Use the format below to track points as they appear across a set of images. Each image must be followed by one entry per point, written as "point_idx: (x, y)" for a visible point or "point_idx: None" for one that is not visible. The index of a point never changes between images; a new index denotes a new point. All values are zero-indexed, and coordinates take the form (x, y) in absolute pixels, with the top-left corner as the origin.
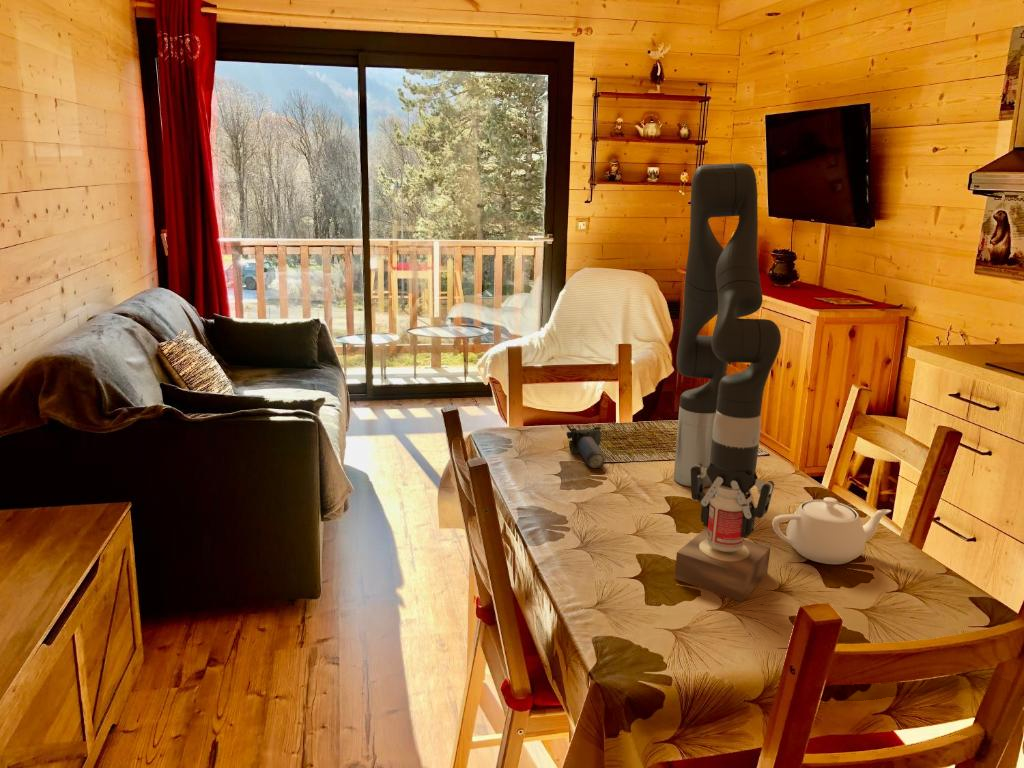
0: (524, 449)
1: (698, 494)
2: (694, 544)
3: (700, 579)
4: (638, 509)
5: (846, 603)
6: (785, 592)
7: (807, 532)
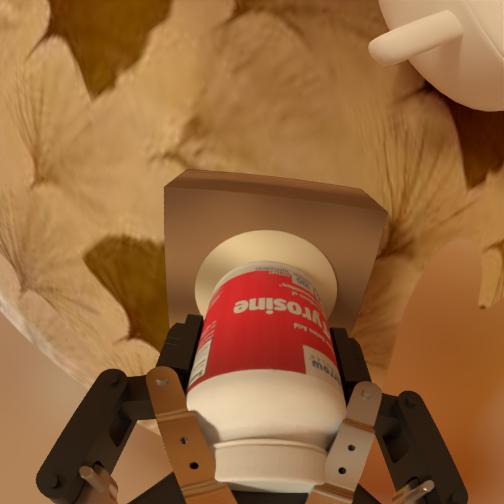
0: None
1: (133, 425)
2: (185, 304)
3: None
4: (5, 67)
5: (488, 234)
6: (401, 252)
7: (471, 82)
